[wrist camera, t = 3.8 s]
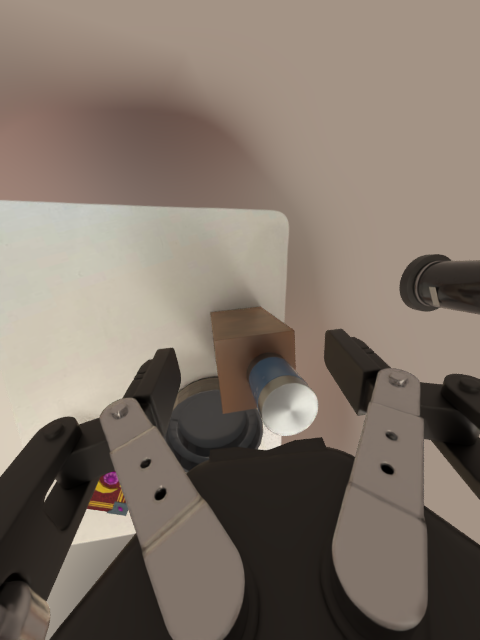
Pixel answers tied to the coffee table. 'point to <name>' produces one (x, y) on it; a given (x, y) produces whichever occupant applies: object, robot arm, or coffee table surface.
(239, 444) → the silver metal bowl
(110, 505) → the decorative book
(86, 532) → the coffee table surface
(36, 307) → the coffee table surface
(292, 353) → the crate
